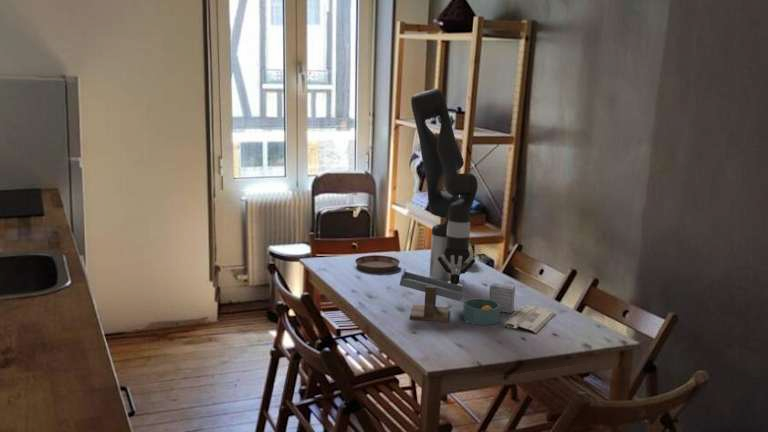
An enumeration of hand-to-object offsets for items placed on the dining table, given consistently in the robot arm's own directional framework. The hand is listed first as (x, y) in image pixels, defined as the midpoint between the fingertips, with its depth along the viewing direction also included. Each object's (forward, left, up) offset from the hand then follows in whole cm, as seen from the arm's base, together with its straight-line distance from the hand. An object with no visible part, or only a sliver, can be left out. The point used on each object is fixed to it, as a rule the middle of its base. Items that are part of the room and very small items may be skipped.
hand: (454, 284), depth 235 cm
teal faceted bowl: (0, +12, -8) cm, 15 cm away
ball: (-2, +13, -6) cm, 15 cm away
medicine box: (-12, +10, -9) cm, 18 cm away
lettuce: (-43, -39, -9) cm, 59 cm away
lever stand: (+11, 0, -8) cm, 14 cm away
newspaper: (-12, +22, -9) cm, 26 cm away
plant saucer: (-10, -52, -9) cm, 53 cm away
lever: (+9, -3, -1) cm, 9 cm away
